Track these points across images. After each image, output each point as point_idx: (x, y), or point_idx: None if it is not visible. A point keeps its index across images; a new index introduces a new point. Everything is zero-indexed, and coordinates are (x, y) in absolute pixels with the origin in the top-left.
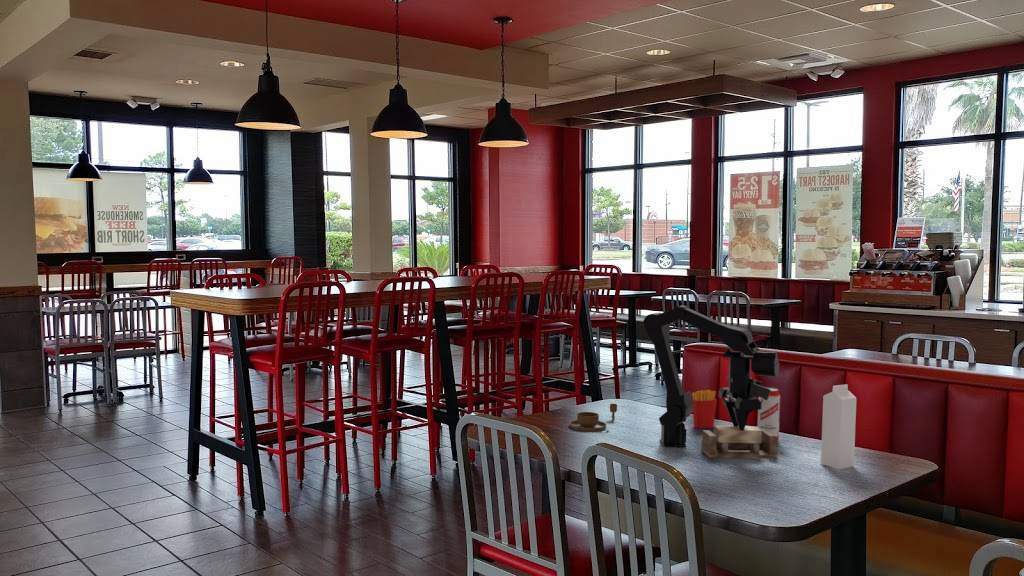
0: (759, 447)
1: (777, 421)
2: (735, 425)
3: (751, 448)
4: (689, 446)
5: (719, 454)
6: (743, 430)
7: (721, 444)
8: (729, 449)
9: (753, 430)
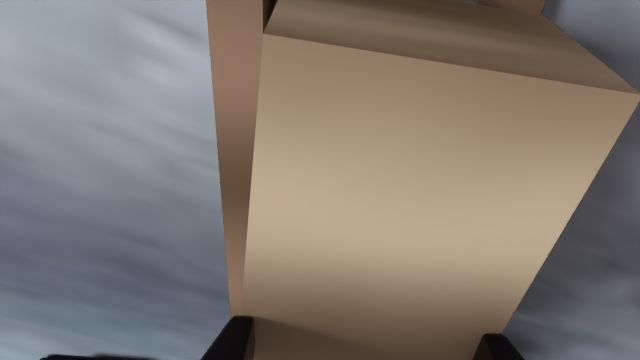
0: (479, 2)
1: None
2: (254, 349)
3: None
4: (155, 346)
5: None
6: (496, 331)
7: None
8: None
9: (561, 226)
